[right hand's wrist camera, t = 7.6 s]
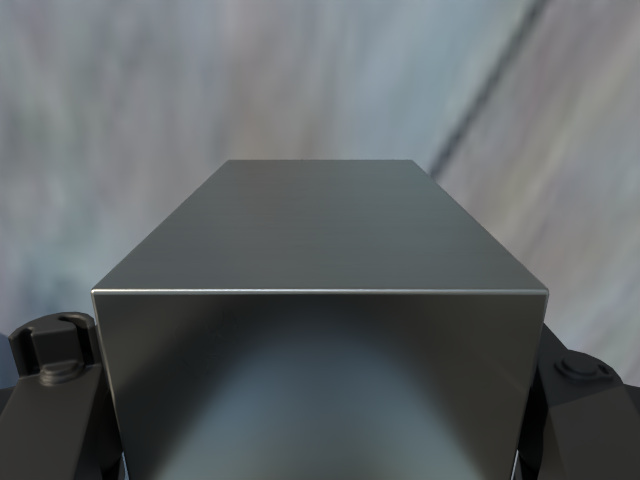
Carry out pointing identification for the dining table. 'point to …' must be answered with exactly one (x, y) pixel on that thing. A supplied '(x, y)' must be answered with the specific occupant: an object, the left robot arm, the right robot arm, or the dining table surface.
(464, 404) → the box
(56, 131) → the dining table surface
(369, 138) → the dining table surface
